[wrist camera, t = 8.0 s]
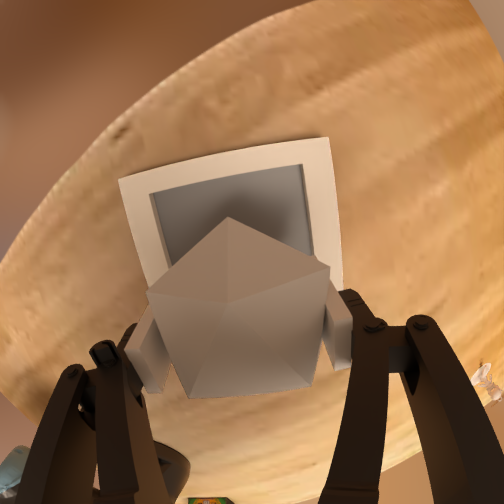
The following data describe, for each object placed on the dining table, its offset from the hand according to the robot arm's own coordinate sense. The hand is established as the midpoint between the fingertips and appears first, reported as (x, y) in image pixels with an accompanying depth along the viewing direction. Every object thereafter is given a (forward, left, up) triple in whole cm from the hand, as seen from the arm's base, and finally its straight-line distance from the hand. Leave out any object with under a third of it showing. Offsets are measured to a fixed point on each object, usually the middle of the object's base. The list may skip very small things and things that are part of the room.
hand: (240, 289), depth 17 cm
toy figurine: (+35, -29, -8) cm, 46 cm away
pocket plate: (0, 0, -7) cm, 7 cm away
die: (0, 0, -1) cm, 1 cm away
